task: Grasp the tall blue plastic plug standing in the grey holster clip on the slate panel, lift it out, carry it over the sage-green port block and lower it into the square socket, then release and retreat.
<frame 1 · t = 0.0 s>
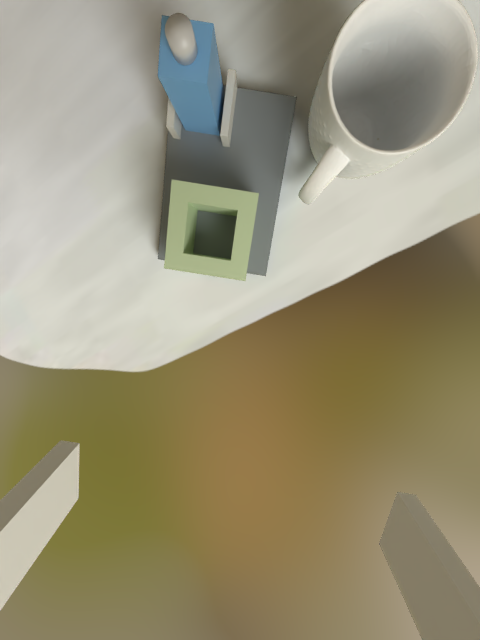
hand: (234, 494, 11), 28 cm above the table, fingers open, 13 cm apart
port: (215, 235, 34), resting on panel
plug: (204, 113, 31), point 1 cm above the table, touching panel
mug: (336, 150, 33), on the table
panel: (223, 186, 34), on the table
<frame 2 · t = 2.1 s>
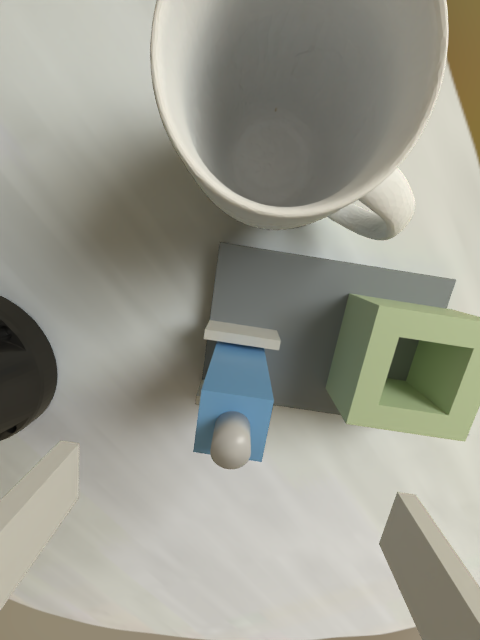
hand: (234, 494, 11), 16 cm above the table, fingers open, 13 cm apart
port: (386, 350, 25), resting on panel
plug: (237, 359, 25), point 1 cm above the table, touching panel
mug: (278, 176, 23), on the table
panel: (316, 335, 26), on the table
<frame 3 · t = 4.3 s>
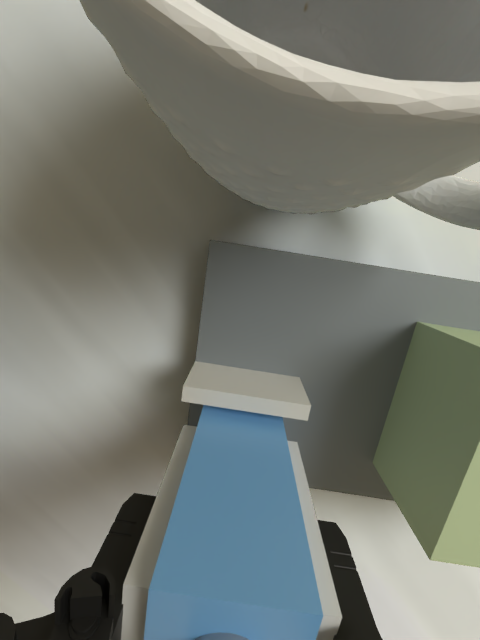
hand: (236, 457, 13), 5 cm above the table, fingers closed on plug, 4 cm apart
port: (470, 408, 16), resting on panel
plug: (238, 419, 16), point 1 cm above the table, touching gripper, panel
mug: (305, 134, 14), on the table
panel: (357, 381, 17), on the table
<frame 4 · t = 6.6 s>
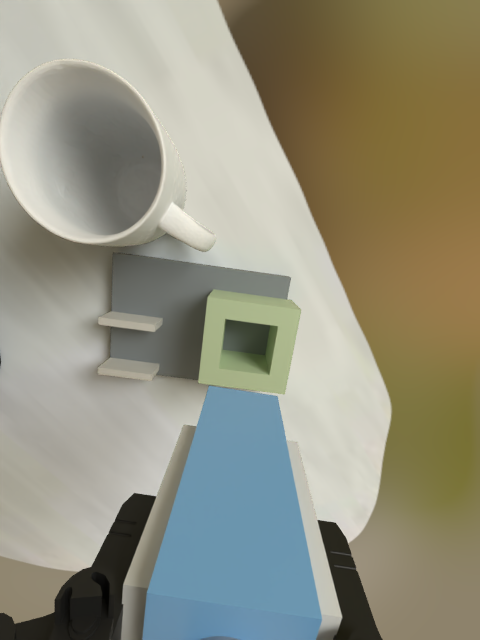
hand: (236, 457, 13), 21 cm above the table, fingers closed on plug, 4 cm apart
port: (246, 332, 33), resting on panel
plug: (238, 421, 16), point 18 cm above the table, touching gripper
mug: (157, 202, 31), on the table
panel: (198, 322, 34), on the table
when the fingers open (8 cm above the table, at t = 9.0 s): plug drops 4 cm, resting on panel.
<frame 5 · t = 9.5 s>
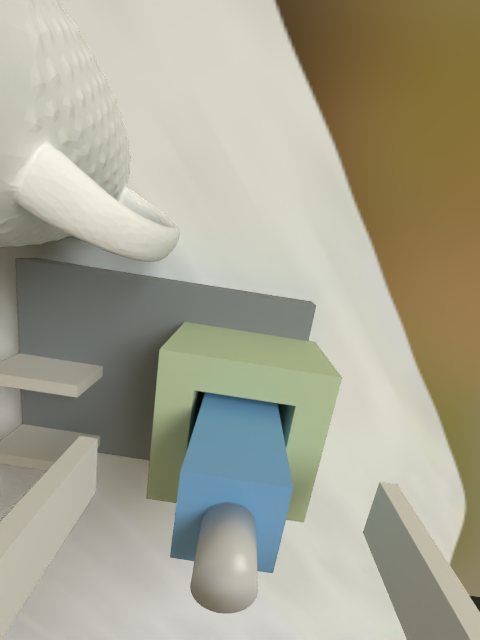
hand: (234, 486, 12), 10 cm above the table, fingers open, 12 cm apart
port: (240, 391, 20), resting on panel
plug: (238, 391, 20), point 2 cm above the table, touching panel
mug: (92, 176, 18), on the table
panel: (164, 370, 21), on the table
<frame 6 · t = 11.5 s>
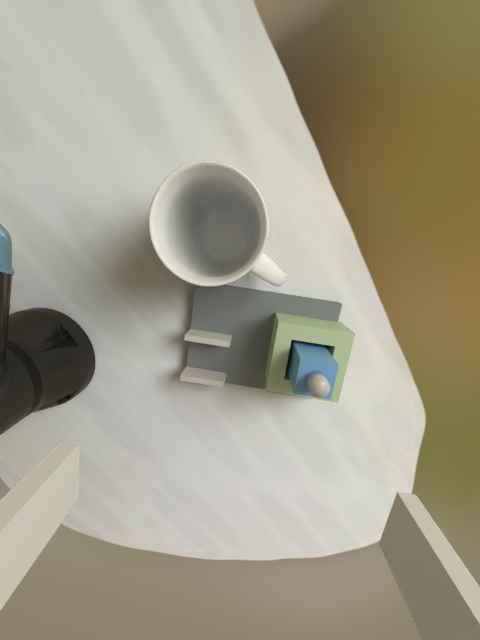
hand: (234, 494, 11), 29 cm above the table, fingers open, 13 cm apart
port: (301, 348, 39), resting on panel
plug: (301, 348, 39), point 1 cm above the table, touching panel
mug: (231, 241, 38), on the table
panel: (259, 338, 40), on the table
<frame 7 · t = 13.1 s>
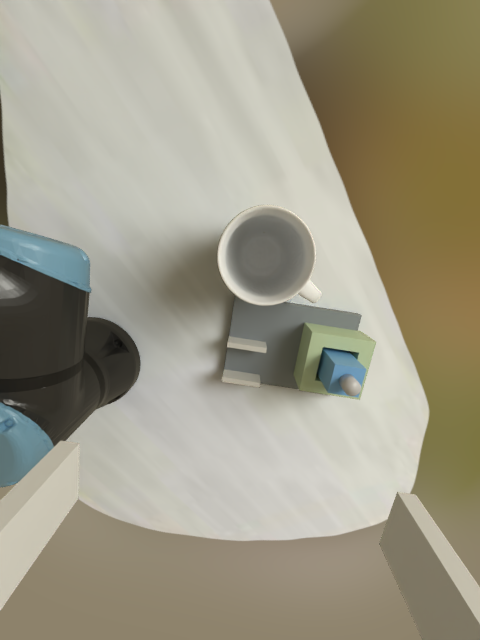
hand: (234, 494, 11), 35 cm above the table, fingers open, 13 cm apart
port: (326, 353, 45), resting on panel
plug: (325, 353, 45), point 1 cm above the table, touching panel
mug: (266, 260, 43), on the table
panel: (288, 344, 46), on the table
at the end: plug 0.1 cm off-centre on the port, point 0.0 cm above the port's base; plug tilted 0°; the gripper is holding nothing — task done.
